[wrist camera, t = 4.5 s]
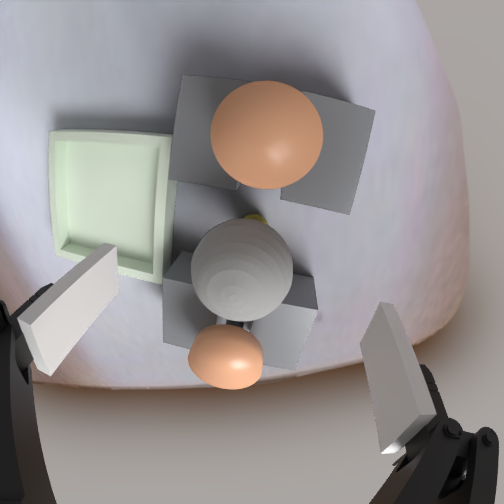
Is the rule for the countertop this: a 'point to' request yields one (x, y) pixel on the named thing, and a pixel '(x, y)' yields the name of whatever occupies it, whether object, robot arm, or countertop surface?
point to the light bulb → (242, 269)
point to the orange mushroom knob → (266, 134)
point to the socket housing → (302, 191)
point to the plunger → (226, 356)
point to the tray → (113, 197)
